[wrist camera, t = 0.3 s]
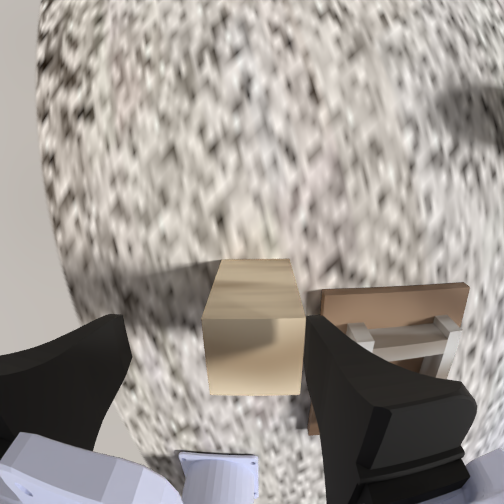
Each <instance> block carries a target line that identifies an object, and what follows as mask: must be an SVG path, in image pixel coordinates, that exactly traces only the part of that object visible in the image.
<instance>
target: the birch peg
mask: <svg viewBox="0 0 504 504" xmlns="http://www.w3.org/2000/svg"><path fill="white" fill-rule="evenodd" d="M201 321H202V331H203V340H204V349H205V358H206V367H207V375H208V383H209V390H210V395H232V396H274V395H300V387H301V376H302V365H303V352H304V339H305V324H306V316H305V313H304V309H303V305H302V302H301V298H300V295H299V291H298V288H297V284H296V280H295V277H294V273H293V270H292V266H291V263H290V259H226V260H221V263H220V266H219V269H218V272H217V275H216V277H215V280H214V283H213V286H212V289H211V292H210V295H209V297H208V300H207V303H206V306H205V309H204V312H203V315H202V318H201Z"/></svg>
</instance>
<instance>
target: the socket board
mask: <svg viewBox="0 0 504 504" xmlns="http://www.w3.org/2000/svg"><path fill="white" fill-rule="evenodd" d="M469 289H470V287H469V286H468V285H466V284H465V283H464V282H461V283H447V284H431V285H414V286H395V287H374V288H349V289H322V299H321V312H320V315H323V316H324V317H325V318H327V319H328V320H329V321H330V322H331V323H332V324H334V325H335V326H336V327H337V328H338V329H340V330H341V331H342V332H343V333H344V334H346V335H347V336H348V337H349V338H351V339H352V340H353V341H355V342H356V343H358V344H359V345H361V346H362V347H364V348H365V349H367V350H368V351H370V352H371V353H373V354H375V355H377V356H379V357H381V358H382V359H384V360H386V361H388V362H391V363H393V364H395V365H398V366H400V367H403V368H405V369H408V370H411V371H414V372H417V373H420V374H424V375H428V376H431V377H436V378H441V379H447V376H448V373H449V371H450V368H451V365H452V362H453V359H454V356H455V353H456V350H457V347H458V344H459V341H460V337H461V334H462V331H463V330H462V329H461V328H460V325H461V322H462V318H463V314H464V310H465V306H466V302H467V298H468V294H469ZM307 429H308V435H309V436H310V435H320V433H319V428H318V423H317V420H316V416H315V412H314V408H313V405H312V401H311V406H310V413H309V420H308V427H307Z"/></svg>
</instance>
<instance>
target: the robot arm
mask: <svg viewBox="0 0 504 504" xmlns="http://www.w3.org/2000/svg"><path fill="white" fill-rule="evenodd" d="M131 359H132V354H131V350H130V346H129V342H128V337H127V333H126V329H125V324H124V319H123V315H117V314H108V315H105V316H103V317H100V318H98V319H96V320H94V321H92V322H90V323H88V324H86V325H84V326H82V327H80V328H78V329H76V330H74V331H72V332H70V333H68V334H65V335H63V336H61V337H59V338H57V339H55V340H52V341H50V342H47V343H45V344H42V345H40V346H37V347H34V348H30V349H27V350H23V351H19V352H15V353H11V354H6V355H1V356H0V504H254V499H256V498H258V457H257V456H253V455H219V454H203V453H191V452H180V453H179V455H178V456H179V459H180V462H181V466H182V469H183V472H184V474H185V477H186V479H185V483H184V488H183V493H182V498H181V497H180V495H179V493H178V491H177V490H176V489H175V488H174V487H173V486H172V485H171V484H170V483H169V482H168V480H167V479H166V478H165V477H164V476H162V475H160V474H158V473H157V472H155V471H153V470H151V469H149V468H148V467H146V466H144V465H141V464H138V463H135V462H132V461H128V460H126V459H123V458H119V457H114V456H110V455H105V454H101V453H97V452H93V448H94V445H95V441H96V438H97V435H98V432H99V430H100V427H101V424H102V421H103V419H104V417H105V415H106V413H107V411H108V409H109V407H110V405H111V403H112V401H113V399H114V398H115V396H116V394H117V392H118V390H119V388H120V386H121V384H122V382H123V380H124V378H125V376H126V374H127V371H128V368H129V365H130V362H131ZM304 367H305V375H306V382H307V386H308V390H309V393H310V397H311V401H312V405H313V408H314V412H315V416H316V420H317V423H318V428H319V433H320V439H321V447H322V455H323V465H324V474H325V487H326V501H327V504H504V451H503V450H502V448H499V449H496V450H494V451H492V452H490V453H487V454H485V455H483V456H480V457H478V458H476V459H474V460H472V461H471V462H469V463H468V464H467V465H466V466H465V465H464V463H463V461H462V459H461V458H463V456H464V455H465V452H464V450H463V448H462V447H461V443H462V441H463V440H464V438H465V436H466V434H467V433H468V431H469V429H470V427H471V425H472V423H473V421H474V419H475V416H476V412H477V404H476V402H475V399H474V398H473V397H472V395H471V394H470V393H469V391H468V390H467V389H466V387H465V386H464V385H463V383H462V382H460V381H453V380H447V379H441V378H436V377H431V376H428V375H424V374H420V373H417V372H414V371H411V370H408V369H405V368H403V367H400V366H398V365H395V364H393V363H391V362H388V361H386V360H384V359H382V358H381V357H379V356H377V355H375V354H373V353H371V352H370V351H368V350H367V349H365V348H364V347H362V346H361V345H359V344H358V343H356V342H355V341H353V340H352V339H351V338H349V337H348V336H347V335H346V334H344V333H343V332H342V331H341V330H340V329H338V328H337V327H336V326H335V325H334V324H332V323H331V322H330V321H329V320H328V319H327V318H325V317H324V316H323V315H316V316H306V333H305V349H304Z"/></svg>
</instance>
